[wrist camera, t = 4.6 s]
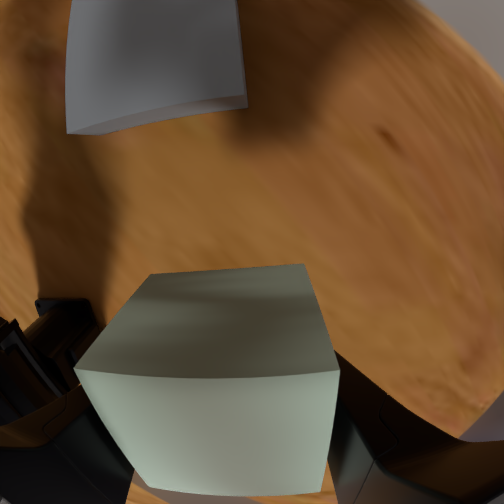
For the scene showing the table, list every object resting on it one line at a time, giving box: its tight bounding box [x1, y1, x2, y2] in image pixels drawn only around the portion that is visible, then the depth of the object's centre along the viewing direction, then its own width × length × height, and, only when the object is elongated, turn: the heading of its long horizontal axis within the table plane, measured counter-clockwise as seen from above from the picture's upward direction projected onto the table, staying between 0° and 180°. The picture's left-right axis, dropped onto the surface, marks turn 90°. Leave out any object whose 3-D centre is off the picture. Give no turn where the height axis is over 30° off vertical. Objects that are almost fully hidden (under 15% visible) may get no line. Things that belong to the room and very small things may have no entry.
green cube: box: [73, 264, 340, 496], centre depth 8 cm, size 5×5×5 cm
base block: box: [65, 0, 248, 135], centre depth 13 cm, size 10×10×4 cm
